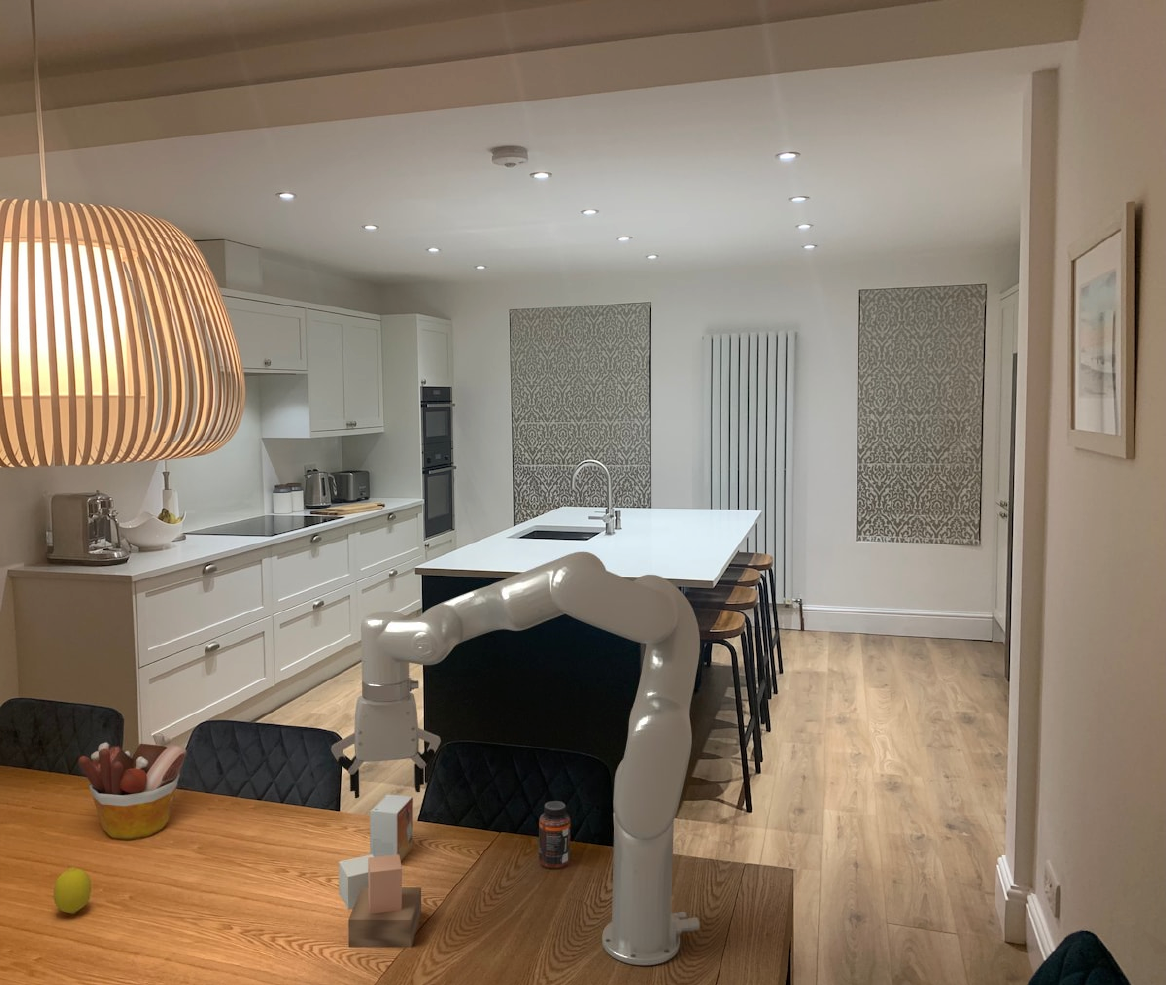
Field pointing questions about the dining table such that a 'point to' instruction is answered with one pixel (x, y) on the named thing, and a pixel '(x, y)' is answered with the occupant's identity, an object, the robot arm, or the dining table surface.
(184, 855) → the dining table surface
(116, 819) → the bucket of meat
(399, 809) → the small box
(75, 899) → the lemon
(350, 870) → the grey cube
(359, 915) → the walnut block
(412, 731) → the robot arm
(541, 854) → the supplement bottle
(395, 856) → the terracotta block
